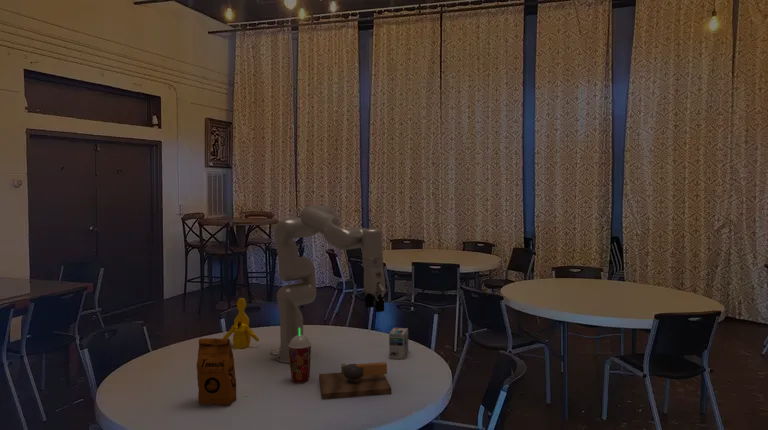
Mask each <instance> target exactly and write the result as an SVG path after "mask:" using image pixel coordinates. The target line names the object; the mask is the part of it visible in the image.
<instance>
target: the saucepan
mask: <svg viewBox="0 0 768 430" xmlns="http://www.w3.org/2000/svg"><path fill="white" fill-rule="evenodd" d="M380 374H384V375H387V374H388V364H387V362H386V361H384V362H382V361H381V362H369V363H350V364H346V366H344V377H346V378H351V379H355V378H360V377H362V376H366V375H380Z"/></svg>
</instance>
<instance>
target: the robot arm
mask: <svg viewBox="0 0 768 430" xmlns="http://www.w3.org/2000/svg"><path fill="white" fill-rule="evenodd" d="M339 224H340V221H339V218H338V217H337V216H336V215H335V213H334V210H333V209H332V208H331V207H330V206H328V205H325V204H324V205H323V204H322V205H308V206H305V207H304V208H302V210H301V211H300V213H299V217H298V216H297V217H287V218H284V219H281V220H279V221H278V222H277V223H276V225H275V227H274V232H273V233H274V240H275V245H276V249H277V250H276V251H277V262H278V274H279V275H278V276H279V278H280V279H281V280H282V281H284V282H294V281H298V282H296V283H290V284H286V285H283V286H282V287H280V288H279V289H278V291H277V293H276V299H277V304H278V311H279V324H280V325H279V327H280V347H279V348H278V349H271V350H270V351H269V355H270V356H272V357H274V356H275V357H276V356H277V357H276V359H277V361H278V362H279V363H283V364H290V356H289V346H288V345H289V344H290V341H291V340H292V338H293V337H295V336H297V335H299V328H300V335H304V318H303V313H302V311H301V310H300V308H299V307H300V306H304V305H308V304H311V303H313V302H314V301H315V299H316V297H317V279H316V268H315V265H314V262H313V260H312V259H311V258H310V257H307V256H299V248H298V245H297V244H296V242H295V240H294V239H298V238H300V239H301V238H309V237H313V236H315V235H317V234H318V233H320V234H322V235H323V237H324V239H325V241H326V242H327V243H328V244H329V245H332V246H333V247H335V248H337V249H340V250H344V251H345V250H347V251H348V250H353V249H354V250H355V249H361V256H362V267H363V288H364V289H363V292H364V304H365V308H373V307H374V306H375V308H374V309H375V313H381V312H385V294H386V291H387V289H386V280H385V271H384V255H383V254H384V251H383V250H384V249H383V232H382V230H381V229H380V228H365V227H355V228H345V229H344V228H343V227H339ZM374 299H375V301H374ZM374 302H375V303H374ZM374 304H375V305H374Z"/></svg>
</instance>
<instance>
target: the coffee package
mask: <svg viewBox="0 0 768 430" xmlns="http://www.w3.org/2000/svg"><path fill="white" fill-rule="evenodd" d="M196 360H197V361H196V377H197V378H196V379H197V388H198V393H197V394H198V399H197V404H198V405H203V404H204V405H214V406H231V405H230V404H233V403H234V400H235V401H236V400H237V379H236V378H237V377H236V367H235V359H234V355H233V349H232V343H231V340H230V338H227V339H222V338H215V337H214V338H210V337H209V338H203V337H202V338H199V339H198V351H197V359H196ZM232 402H233V403H232Z"/></svg>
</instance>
